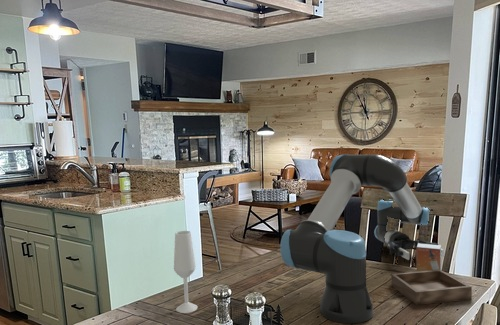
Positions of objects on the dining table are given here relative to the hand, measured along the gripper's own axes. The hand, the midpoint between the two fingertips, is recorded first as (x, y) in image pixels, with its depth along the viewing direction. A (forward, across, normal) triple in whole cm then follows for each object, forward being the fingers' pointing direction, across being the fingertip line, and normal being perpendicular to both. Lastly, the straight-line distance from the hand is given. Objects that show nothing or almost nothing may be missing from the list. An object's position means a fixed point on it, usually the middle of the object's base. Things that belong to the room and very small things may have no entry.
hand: (425, 254), depth 147 cm
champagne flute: (+12, +88, -6) cm, 89 cm away
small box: (+3, +1, -6) cm, 7 cm away
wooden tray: (+18, +10, -6) cm, 21 cm away
